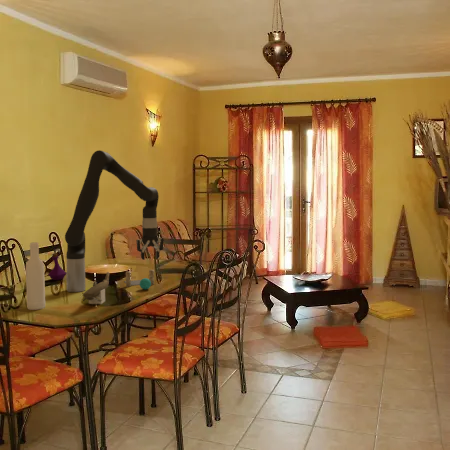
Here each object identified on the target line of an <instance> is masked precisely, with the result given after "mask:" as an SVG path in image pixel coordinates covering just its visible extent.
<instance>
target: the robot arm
mask: <svg viewBox="0 0 450 450" xmlns="http://www.w3.org/2000/svg"><path fill="white" fill-rule="evenodd" d="M87 169H88V170H87V173H86V175H85V178H84V182H83V184H82V188H81V191H80V193H79V195H78V197H77V202H76V204H75V209H74V213H73V217H72V219H71V221H70V224H69V226H68V228H67V230H66V232H65V233H64V234H65V235H64V240H65V242H66V244H67V247H66V248H67V249H66V254H65V256H66V271H65V272H66V275H65V277H66V278H65V279H66V291H67V292H68V293H78V292H79V293H80V292H85V290H86V261H85V259H86V257H85V255H86V234H85V229H86V225H87V223H88V220H89V219H90V217H91V215H92V213H93V211H94V209H95V207H96V204H97V203H98V198H99V196H100V179H101V176H102V173H103V171H106V172H108V173H110V174H112V175H113V176H114V177H116V178H117V179H118V180H119V181H120V183H122V184H123V185H125V186H126V188H128V189H130V190H131V191H133V192H134V194H135V195H136V196H137V197H138V198H139V199H140V200H142V201H144V202H145V206H144V207H142V224H141V227H142V231H141V232H142V233H141V234H142V236H141V237H142V238H140V239H138V238H137V239H136V251H137V252H140V259H142V261H143V260H146V259H145V256H146V255H145V251H146V249H147V247H148V248H149V247H153V248H154V250H155V259H157V260H158V259H159V258H160V252H161V251H162V250H164V241H165V240H164V238H162V237H160V238H159V237H158V220H157V214H158V213H157V207H158V205H159V204H158V203H159V197H160V196H159V192H158V190H157V188H155V187H149V186H146V185H145V184H144V181H143V180H142V179H141V178H139V177H138V176H136V175H135V174H134V173H132V172H131V171H129V170H128V169H126V168H125V167H124V166H122V165H121V164H120V163H119V162H118V161H117V159H115V158H114V156H112V155H111V154H110V153H108V151H107V152H106V151H103V150H96V151H94V152H93V153H92V155H91V157H90V160H89V164H88V168H87ZM142 243H143V244H142ZM157 243H159V246H158V245H157ZM141 244H142V246H141Z"/></svg>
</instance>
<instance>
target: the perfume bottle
mask: <svg viewBox="0 0 450 450" xmlns="http://www.w3.org/2000/svg"><path fill="white" fill-rule="evenodd" d="M53 251H54V252H53V253H51V257H50V258H51V259H52V260H53V262H54V265H53V266H54V267H53V268H52V269H51V271H49V273H47V275H48V277H49V278H51V279H50V280H53V281H60V280H63V279H64V278H65V277H66V272H67V271H65V270H64V269H63V268H62V267H61V266H60V264H59V262H58V260H59V258H60V257H59V256H58V253H60V252H61V250H60V248H56V249H54V250H53ZM56 252H58V253H56Z"/></svg>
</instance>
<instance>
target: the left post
mask: <svg viewBox="0 0 450 450" xmlns="http://www.w3.org/2000/svg"><path fill="white" fill-rule="evenodd" d="M131 273H132V272H131V271H125V281H126V283H125V287H127V288H130V287H132V286H131V281H132V274H131Z"/></svg>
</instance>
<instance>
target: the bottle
mask: <svg viewBox="0 0 450 450" xmlns="http://www.w3.org/2000/svg"><path fill="white" fill-rule="evenodd" d="M29 250H30V258H29V259H28V260H27V261H26V264H25V282H26V306H27V307H26V308H27V309H28V310H32V311H35V310H36V311H37V310H42V309H45V308H46V289H45V288H46V287H45V286H46V285H45V284H46V282H45V281H46V280H45V264H44V262H43V260H42V259H41V258H40V251H39V250H40V245H39V242H30V243H29Z"/></svg>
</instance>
